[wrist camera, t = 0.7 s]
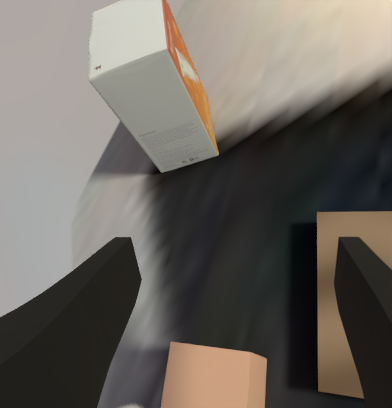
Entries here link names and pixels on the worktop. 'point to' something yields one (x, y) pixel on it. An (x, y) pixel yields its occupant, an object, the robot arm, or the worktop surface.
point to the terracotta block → (213, 378)
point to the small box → (151, 82)
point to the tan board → (327, 304)
